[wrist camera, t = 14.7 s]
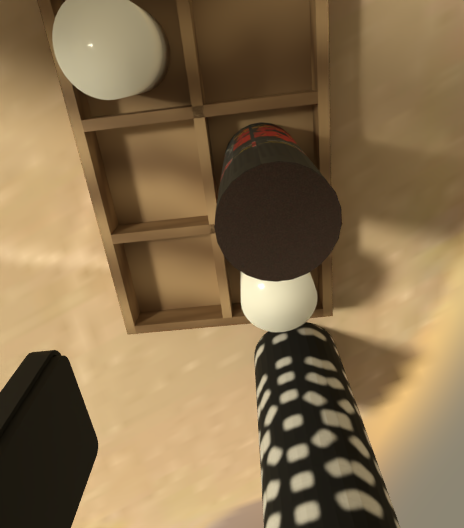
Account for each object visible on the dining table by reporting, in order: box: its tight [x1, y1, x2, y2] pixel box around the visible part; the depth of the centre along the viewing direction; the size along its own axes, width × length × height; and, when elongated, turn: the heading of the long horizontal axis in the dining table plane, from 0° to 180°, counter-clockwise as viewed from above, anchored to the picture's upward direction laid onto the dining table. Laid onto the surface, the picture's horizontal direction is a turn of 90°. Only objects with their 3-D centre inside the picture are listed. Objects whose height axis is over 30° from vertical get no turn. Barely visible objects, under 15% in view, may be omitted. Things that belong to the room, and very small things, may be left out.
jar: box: [240, 271, 317, 332], centre depth 33 cm, size 6×6×7 cm
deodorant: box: [214, 122, 342, 282], centre depth 26 cm, size 6×6×15 cm
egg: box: [52, 0, 170, 100], centre depth 26 cm, size 6×6×7 cm
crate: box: [37, 0, 333, 334], centre depth 32 cm, size 27×18×3 cm
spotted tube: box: [254, 322, 400, 528], centre depth 33 cm, size 8×8×20 cm
